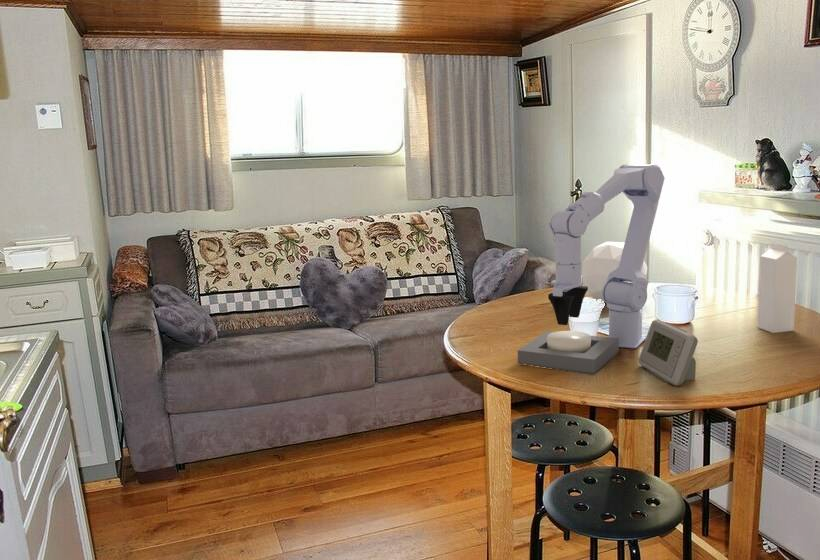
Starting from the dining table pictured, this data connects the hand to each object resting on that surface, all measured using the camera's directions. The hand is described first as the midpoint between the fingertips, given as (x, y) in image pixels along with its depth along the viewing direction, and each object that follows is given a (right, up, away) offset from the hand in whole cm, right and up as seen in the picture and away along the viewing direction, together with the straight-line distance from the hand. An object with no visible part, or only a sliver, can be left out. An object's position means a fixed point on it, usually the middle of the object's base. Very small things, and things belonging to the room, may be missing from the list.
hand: (568, 320), depth 168 cm
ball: (+26, +2, +54) cm, 60 cm away
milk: (+57, -3, +18) cm, 60 cm away
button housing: (+1, -9, +2) cm, 9 cm away
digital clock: (+18, -11, -13) cm, 25 cm away
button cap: (0, -7, +1) cm, 7 cm away
